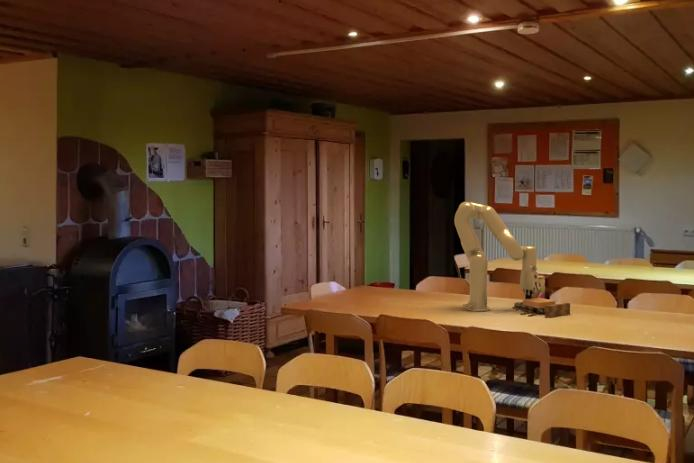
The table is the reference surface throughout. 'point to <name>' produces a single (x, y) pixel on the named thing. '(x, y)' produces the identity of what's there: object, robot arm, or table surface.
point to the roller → (540, 310)
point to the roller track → (525, 307)
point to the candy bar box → (540, 288)
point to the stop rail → (557, 310)
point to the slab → (538, 302)
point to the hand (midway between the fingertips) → (528, 302)
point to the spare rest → (528, 313)
